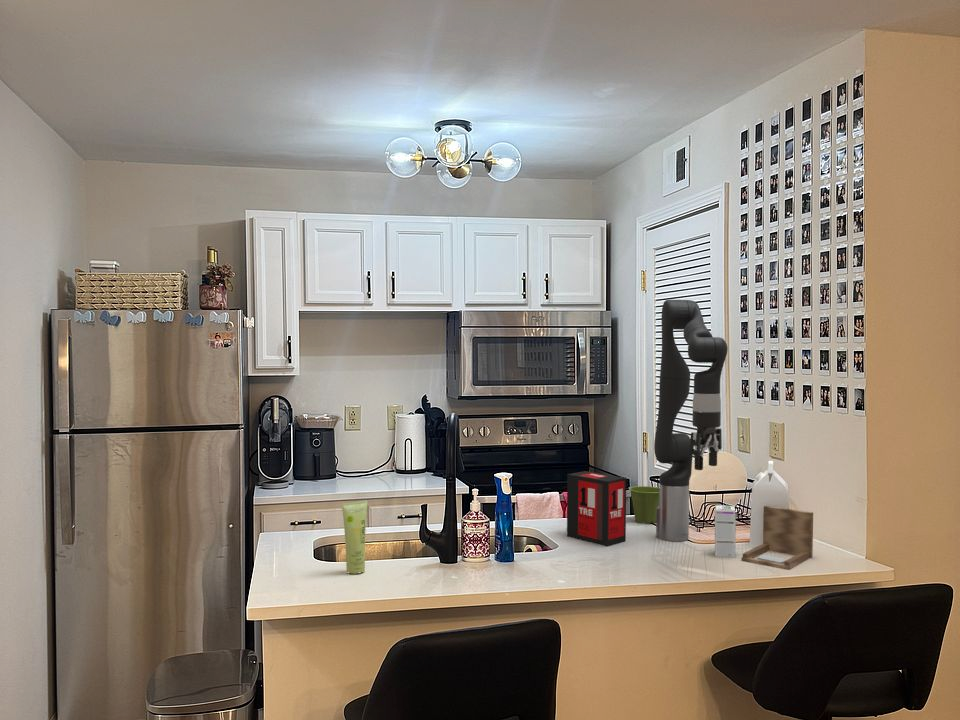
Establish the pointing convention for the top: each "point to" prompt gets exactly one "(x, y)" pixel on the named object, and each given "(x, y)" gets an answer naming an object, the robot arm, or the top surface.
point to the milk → (766, 500)
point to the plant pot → (645, 503)
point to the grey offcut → (772, 559)
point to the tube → (355, 535)
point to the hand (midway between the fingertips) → (705, 467)
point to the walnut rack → (784, 537)
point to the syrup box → (725, 531)
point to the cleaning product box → (596, 508)
